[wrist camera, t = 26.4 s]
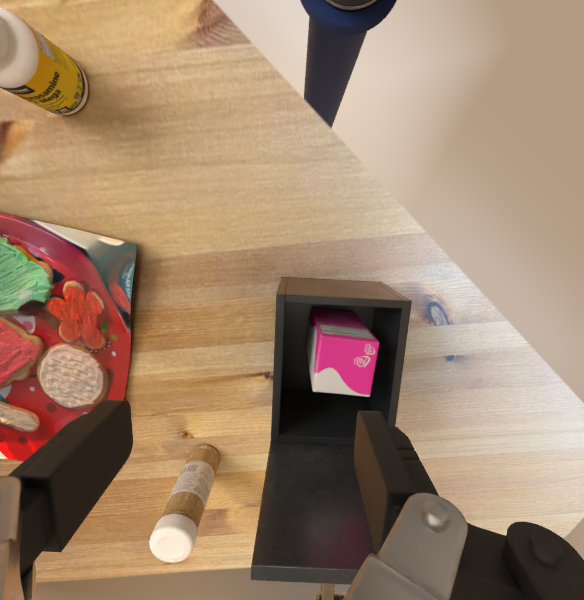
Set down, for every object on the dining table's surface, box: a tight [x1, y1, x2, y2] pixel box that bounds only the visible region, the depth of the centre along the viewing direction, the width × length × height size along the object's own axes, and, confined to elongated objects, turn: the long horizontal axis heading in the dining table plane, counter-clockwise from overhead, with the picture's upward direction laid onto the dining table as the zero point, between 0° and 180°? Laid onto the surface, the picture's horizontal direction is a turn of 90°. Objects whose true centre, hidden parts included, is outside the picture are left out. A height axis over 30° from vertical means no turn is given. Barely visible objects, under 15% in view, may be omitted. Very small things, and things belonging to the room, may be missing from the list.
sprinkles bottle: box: [150, 445, 220, 562], centre depth 40 cm, size 5×5×13 cm
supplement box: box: [306, 307, 379, 397], centre depth 36 cm, size 6×6×12 cm
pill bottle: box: [0, 7, 88, 115], centre depth 31 cm, size 6×6×11 cm
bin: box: [271, 277, 412, 445], centre depth 37 cm, size 16×13×11 cm
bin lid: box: [251, 441, 376, 600], centre depth 25 cm, size 16×13×5 cm
